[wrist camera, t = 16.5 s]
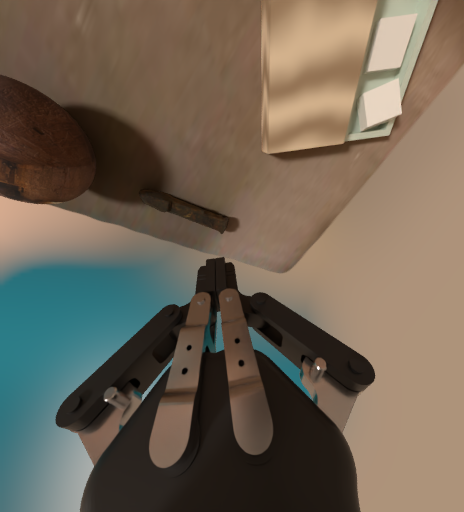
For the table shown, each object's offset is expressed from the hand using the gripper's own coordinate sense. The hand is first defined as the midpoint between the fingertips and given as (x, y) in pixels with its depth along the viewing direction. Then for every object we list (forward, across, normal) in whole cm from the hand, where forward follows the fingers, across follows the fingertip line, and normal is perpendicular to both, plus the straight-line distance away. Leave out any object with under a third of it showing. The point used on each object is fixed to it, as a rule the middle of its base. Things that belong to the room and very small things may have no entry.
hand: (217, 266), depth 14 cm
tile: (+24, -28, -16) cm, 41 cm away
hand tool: (+28, +7, +4) cm, 29 cm away
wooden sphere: (+27, +25, -10) cm, 38 cm away
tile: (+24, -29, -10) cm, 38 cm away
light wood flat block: (+27, -16, -14) cm, 35 cm away
